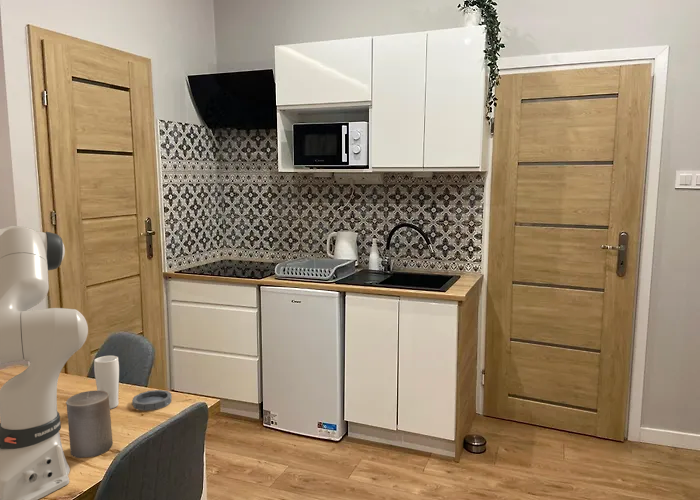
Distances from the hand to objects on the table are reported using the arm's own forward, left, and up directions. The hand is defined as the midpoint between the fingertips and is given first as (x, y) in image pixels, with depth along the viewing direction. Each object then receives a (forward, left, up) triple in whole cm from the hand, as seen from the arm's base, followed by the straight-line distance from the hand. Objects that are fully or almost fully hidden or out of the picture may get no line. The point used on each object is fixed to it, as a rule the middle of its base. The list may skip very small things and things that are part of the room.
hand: (70, 345), depth 164 cm
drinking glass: (0, -13, -18) cm, 22 cm away
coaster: (+6, -24, -18) cm, 31 cm away
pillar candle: (-23, -28, -18) cm, 41 cm away
